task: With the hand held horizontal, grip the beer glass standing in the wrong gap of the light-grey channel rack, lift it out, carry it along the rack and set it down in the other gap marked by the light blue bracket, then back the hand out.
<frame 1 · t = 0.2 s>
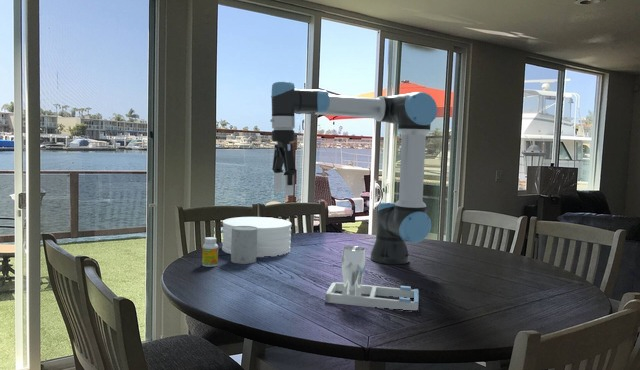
hand: (283, 193, 170), 28 cm above the table, fingers open, 13 cm apart
gray cylinder: (243, 261, 190), on the table
beer glass: (351, 298, 151), on the table
channel rack: (372, 300, 149), on the table
supplement bottle: (209, 265, 181), on the table
light blue bracket: (394, 302, 148), on the table
plate stack: (256, 250, 211), on the table
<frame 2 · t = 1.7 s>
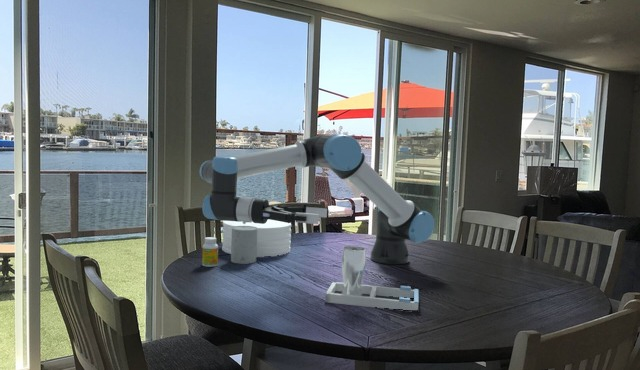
hand: (323, 216, 150), 24 cm above the table, fingers open, 13 cm apart
nothing on the table moved.
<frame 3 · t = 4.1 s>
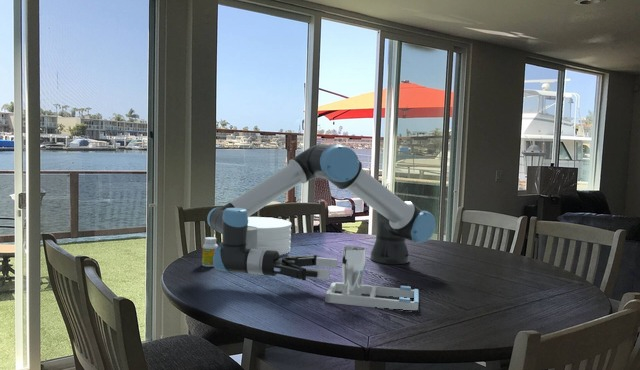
hand: (333, 269, 150), 8 cm above the table, fingers open, 13 cm apart
nothing on the table moved.
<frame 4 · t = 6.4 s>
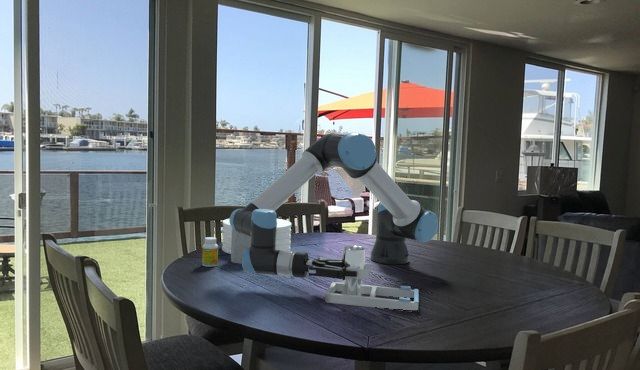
hand: (370, 271, 149), 9 cm above the table, fingers closed on beer glass, 7 cm apart
beer glass: (351, 298, 151), on the table, touching gripper
everything else where it was.
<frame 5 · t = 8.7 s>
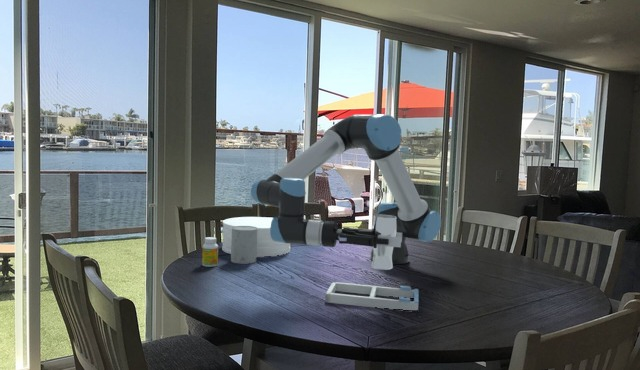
hand: (401, 239, 146), 19 cm above the table, fingers closed on beer glass, 7 cm apart
beer glass: (382, 268, 148), point 10 cm above the table, touching gripper
everything else where it was.
when the fingers open (10 cm above the table, at t = 11.1 s): beer glass drops 1 cm, on the table.
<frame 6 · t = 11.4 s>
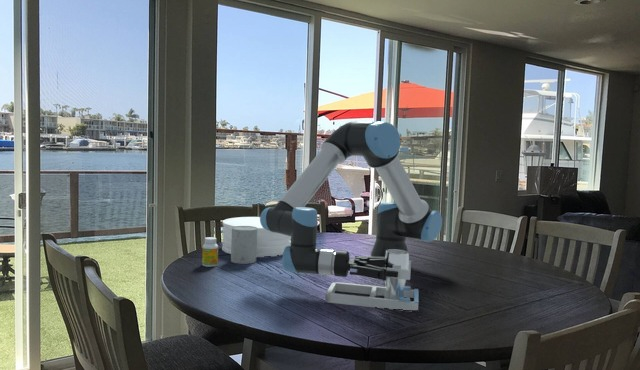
hand: (410, 270, 147), 10 cm above the table, fingers open, 10 cm apart
beer glass: (393, 303, 148), on the table
everything else where it was.
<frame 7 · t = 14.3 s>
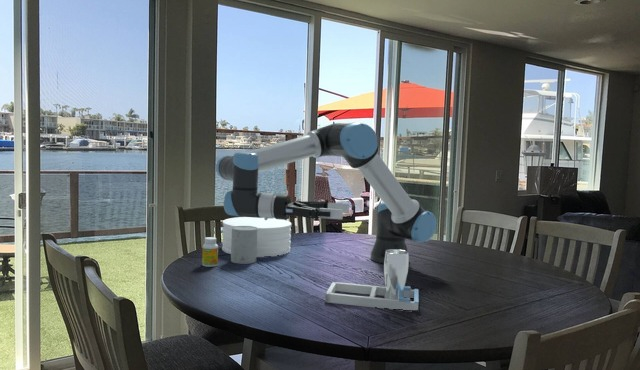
hand: (346, 211, 149), 26 cm above the table, fingers open, 13 cm apart
nothing on the table moved.
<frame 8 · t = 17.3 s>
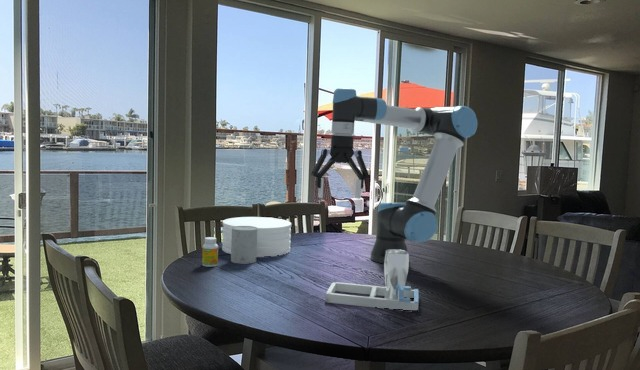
hand: (339, 198, 173), 27 cm above the table, fingers open, 13 cm apart
nothing on the table moved.
at the end: beer glass 0.1 cm from the light blue bracket (horizontally); beer glass tilted 0°; the gripper is holding nothing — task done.
